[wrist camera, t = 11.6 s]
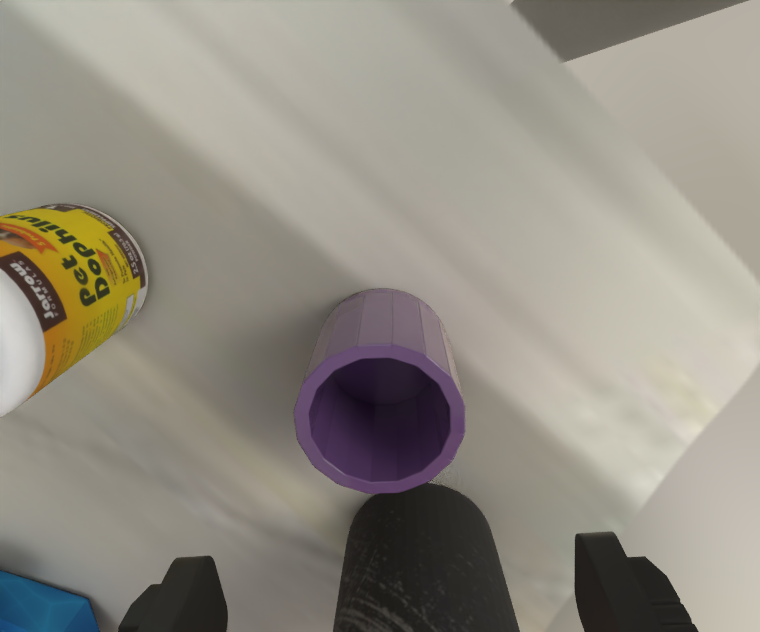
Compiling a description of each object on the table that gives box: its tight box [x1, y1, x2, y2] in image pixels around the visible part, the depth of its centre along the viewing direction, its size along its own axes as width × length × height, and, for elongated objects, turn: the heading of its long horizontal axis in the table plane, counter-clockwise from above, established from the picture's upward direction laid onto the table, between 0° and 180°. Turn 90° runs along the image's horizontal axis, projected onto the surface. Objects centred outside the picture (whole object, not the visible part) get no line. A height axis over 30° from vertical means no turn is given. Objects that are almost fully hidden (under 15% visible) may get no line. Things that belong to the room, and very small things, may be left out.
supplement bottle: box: [0, 203, 148, 417], centre depth 18 cm, size 6×6×10 cm
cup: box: [294, 289, 465, 494], centre depth 21 cm, size 6×6×6 cm
